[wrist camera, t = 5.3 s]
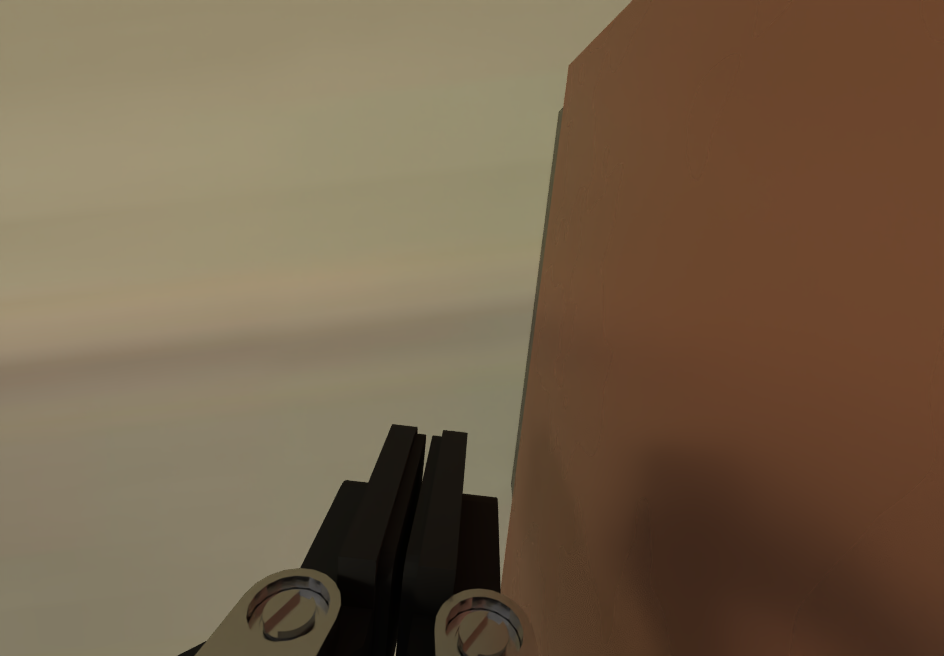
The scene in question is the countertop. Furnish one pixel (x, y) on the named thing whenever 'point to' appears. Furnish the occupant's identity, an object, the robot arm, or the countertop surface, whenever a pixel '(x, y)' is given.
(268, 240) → the countertop surface
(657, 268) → the lid
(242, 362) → the countertop surface
